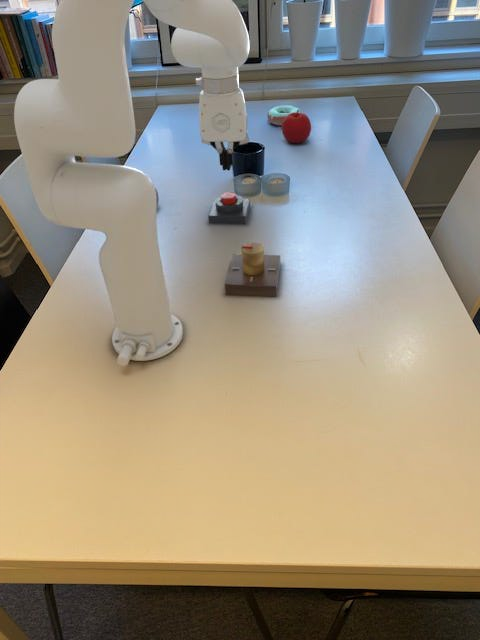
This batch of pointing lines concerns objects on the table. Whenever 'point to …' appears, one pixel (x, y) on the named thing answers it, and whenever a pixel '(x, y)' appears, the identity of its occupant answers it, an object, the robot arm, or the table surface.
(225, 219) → the button block
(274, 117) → the donut
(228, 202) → the button
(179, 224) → the table surface
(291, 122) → the apple
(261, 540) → the table surface
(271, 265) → the panel
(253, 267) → the knob
